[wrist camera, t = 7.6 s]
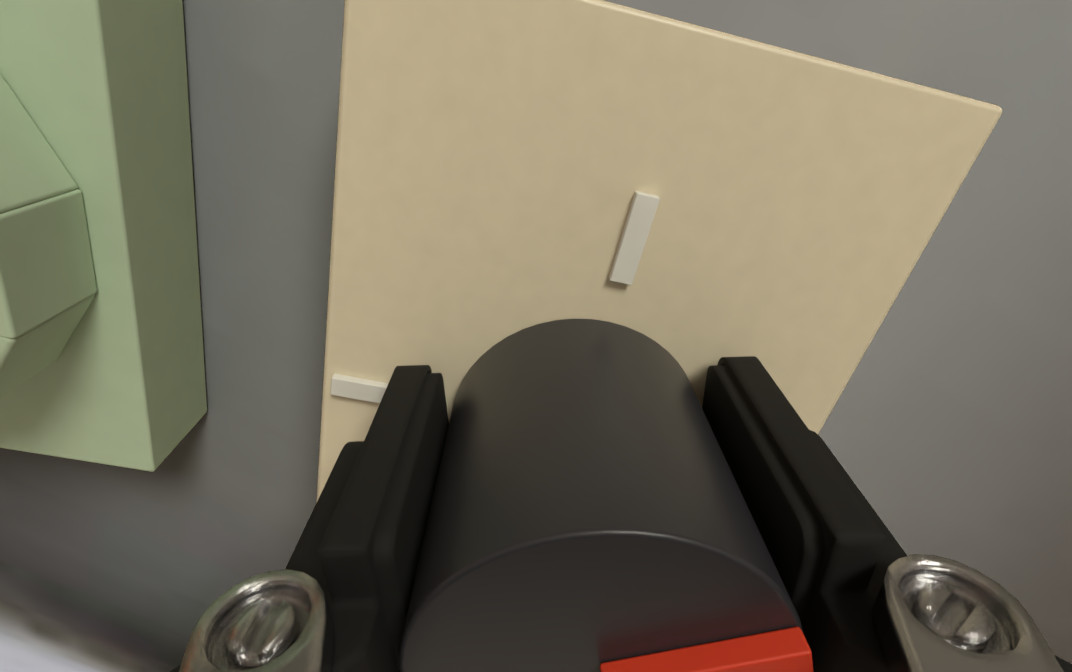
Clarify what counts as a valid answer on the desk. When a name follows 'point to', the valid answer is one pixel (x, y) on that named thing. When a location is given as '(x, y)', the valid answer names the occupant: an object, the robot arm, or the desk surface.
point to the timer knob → (591, 522)
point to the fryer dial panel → (618, 195)
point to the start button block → (97, 232)
